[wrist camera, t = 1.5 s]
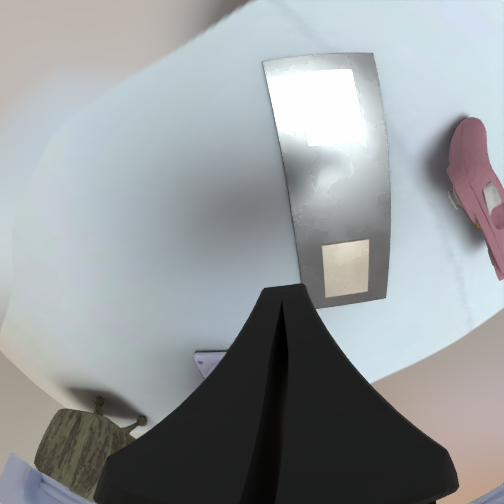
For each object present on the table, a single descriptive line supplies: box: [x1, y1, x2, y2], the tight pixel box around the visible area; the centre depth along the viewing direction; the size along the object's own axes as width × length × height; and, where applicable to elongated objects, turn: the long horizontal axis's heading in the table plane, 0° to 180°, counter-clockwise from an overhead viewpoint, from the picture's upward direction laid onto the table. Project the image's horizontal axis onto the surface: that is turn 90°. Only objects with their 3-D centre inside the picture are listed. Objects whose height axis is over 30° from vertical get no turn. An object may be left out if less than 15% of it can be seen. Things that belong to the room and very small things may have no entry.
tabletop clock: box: [34, 397, 147, 504], centre depth 22 cm, size 14×9×25 cm, turn 112°
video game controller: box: [446, 117, 504, 280], centre depth 11 cm, size 10×5×7 cm, turn 53°
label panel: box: [263, 53, 391, 309], centre depth 15 cm, size 16×6×1 cm, turn 12°
